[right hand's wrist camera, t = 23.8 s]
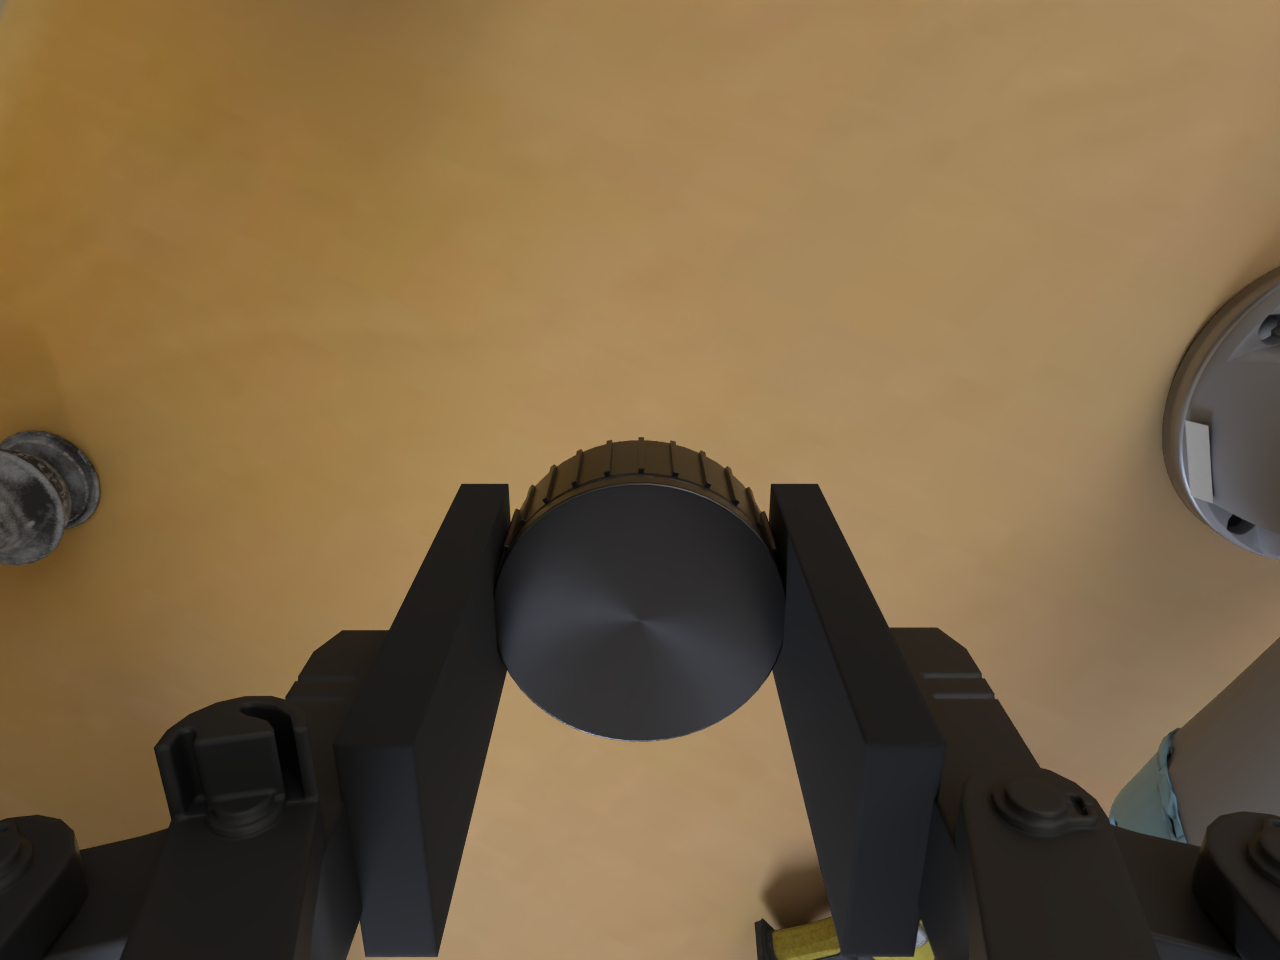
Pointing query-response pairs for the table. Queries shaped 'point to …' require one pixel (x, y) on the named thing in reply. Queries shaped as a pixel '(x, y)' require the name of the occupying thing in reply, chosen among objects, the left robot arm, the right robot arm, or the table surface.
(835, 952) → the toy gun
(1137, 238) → the table surface
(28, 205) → the table surface
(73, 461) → the salt shaker
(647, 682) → the cap
